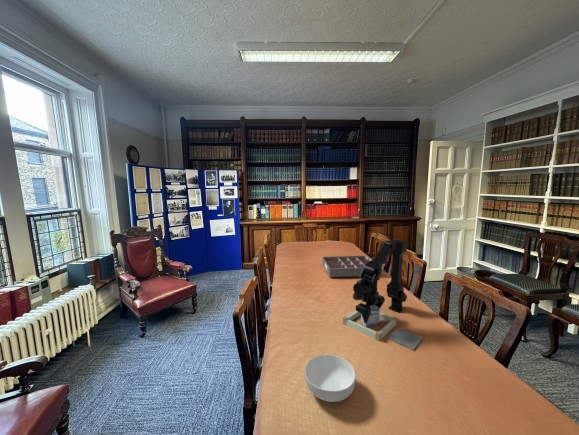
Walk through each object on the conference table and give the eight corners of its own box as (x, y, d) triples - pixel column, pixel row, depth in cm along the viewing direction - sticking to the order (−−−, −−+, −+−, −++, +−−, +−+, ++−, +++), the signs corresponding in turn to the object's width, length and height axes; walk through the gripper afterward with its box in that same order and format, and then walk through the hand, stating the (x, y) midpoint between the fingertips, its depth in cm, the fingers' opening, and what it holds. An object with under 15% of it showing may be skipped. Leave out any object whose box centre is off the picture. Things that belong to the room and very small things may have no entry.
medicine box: (365, 327, 116) (366, 310, 115) (360, 322, 120) (361, 306, 119) (379, 324, 118) (380, 308, 117) (374, 320, 122) (374, 304, 121)
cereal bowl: (347, 369, 89) (347, 352, 88) (362, 411, 73) (362, 390, 72) (302, 371, 89) (302, 354, 88) (307, 413, 72) (307, 392, 71)
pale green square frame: (362, 309, 133) (362, 304, 132) (397, 323, 119) (397, 317, 118) (342, 323, 120) (342, 317, 119) (379, 341, 106) (379, 334, 105)
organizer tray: (321, 265, 210) (321, 254, 208) (365, 264, 211) (366, 253, 210) (329, 279, 178) (329, 266, 177) (381, 277, 180) (381, 264, 178)
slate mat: (397, 328, 114) (397, 327, 114) (422, 339, 106) (422, 337, 106) (387, 338, 107) (387, 337, 107) (413, 350, 99) (413, 349, 99)
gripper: (365, 280, 129) (365, 307, 131) (346, 290, 116) (345, 320, 118) (385, 286, 121) (384, 314, 123) (367, 298, 108) (366, 329, 110)
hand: (370, 319), depth 119 cm, fingers closed on medicine box, 9 cm apart
